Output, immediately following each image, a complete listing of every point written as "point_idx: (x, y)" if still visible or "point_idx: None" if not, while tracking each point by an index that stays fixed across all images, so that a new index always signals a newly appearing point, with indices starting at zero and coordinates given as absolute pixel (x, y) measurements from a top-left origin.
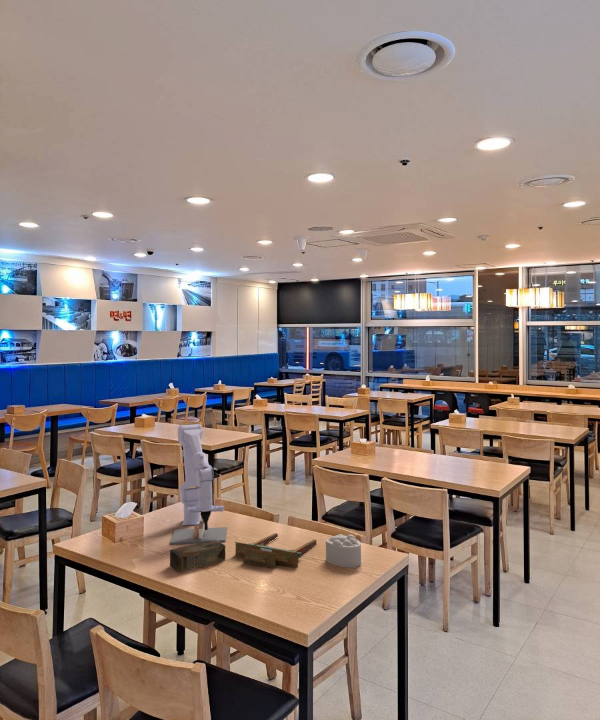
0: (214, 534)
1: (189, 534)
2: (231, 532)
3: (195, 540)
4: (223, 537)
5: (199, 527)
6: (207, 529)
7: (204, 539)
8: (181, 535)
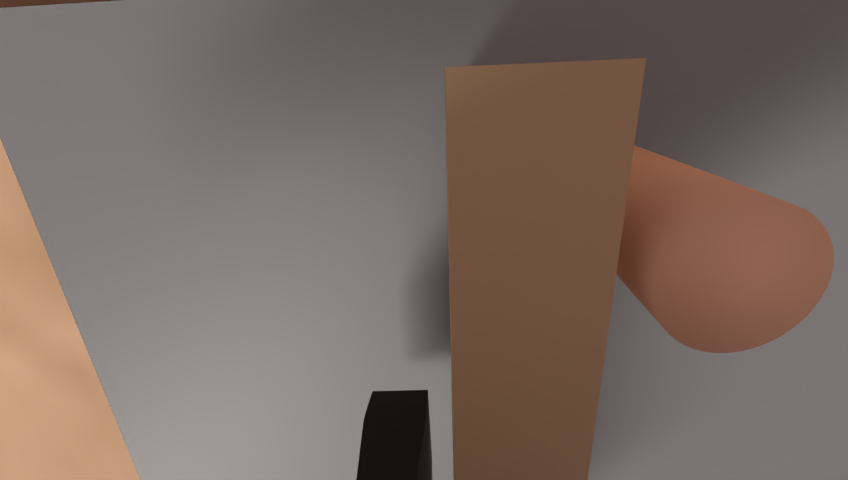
0: (266, 325)
1: (686, 364)
2: (81, 426)
3: (583, 32)
4: (48, 160)
5: (569, 65)
6: (371, 399)
7: (396, 81)
8: (828, 337)
